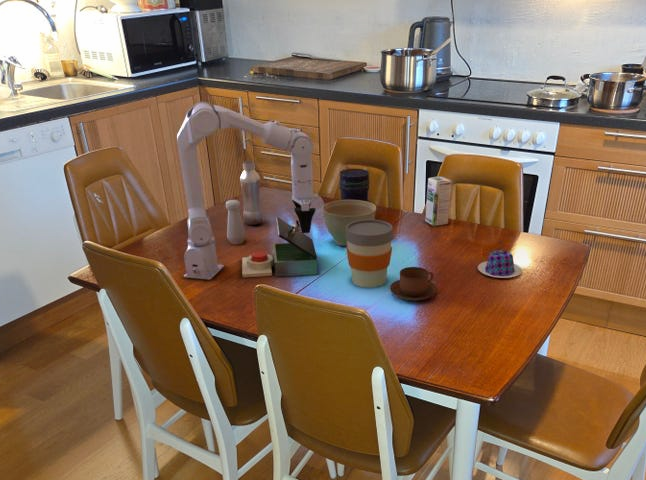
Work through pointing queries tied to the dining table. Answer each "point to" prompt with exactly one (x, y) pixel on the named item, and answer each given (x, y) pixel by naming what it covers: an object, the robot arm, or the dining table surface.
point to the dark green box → (292, 261)
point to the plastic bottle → (251, 194)
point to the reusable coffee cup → (369, 251)
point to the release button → (259, 256)
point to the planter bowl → (346, 216)
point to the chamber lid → (295, 237)
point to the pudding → (500, 265)
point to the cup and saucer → (414, 284)
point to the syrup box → (438, 201)
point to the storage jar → (354, 184)
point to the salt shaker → (235, 223)
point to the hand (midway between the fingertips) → (304, 227)
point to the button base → (256, 267)
